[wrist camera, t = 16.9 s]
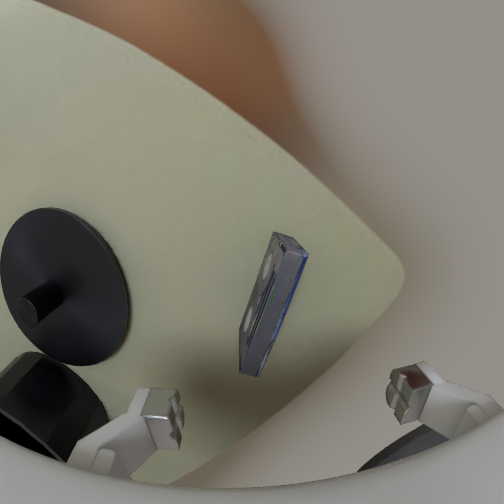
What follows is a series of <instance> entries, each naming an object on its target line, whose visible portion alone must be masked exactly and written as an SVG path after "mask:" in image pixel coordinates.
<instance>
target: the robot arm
mask: <svg viewBox="0 0 504 504" xmlns="http://www.w3.org/2000/svg"><path fill="white" fill-rule="evenodd" d="M390 379H391V382H390V384H389V385H388V386H387V389H386V400H387V403H388V405H389V407H391V408H393V409H395V413H394V415H395V416H396V418H397V420H398V421H399V423H400V425H401V424H405V423H408V422H412V421H415V420H418V421H420V422H422V423H423V424H425V425H426V426H428V427H430V428H432V429H433V430H435V431H437V432H438V433H440V434H442V435H444V436H445V437H447V438H449V439H450V440H448V441H446V442H444V443H441V444H439V445H437V446H435V447H432V448H430V449H427V450H425V451H422V452H420V453H417V454H415V455H412V456H409V457H406V458H404V459H401V460H398V461H395V462H392V463H389V464H385V465H382V466H379V467H375V468H372V469H368V470H364V471H361V472H357V473H353V474H349V475H344V476H339V477H334V478H330V479H324V480H318V481H312V482H306V483H298V484H291V485H281V486H271V487H257V488H256V487H255V488H196V487H183V486H172V485H163V484H155V483H148V482H142V481H136V480H132V478H131V477H130V475H131V474H132V473H133V472H134V471H135V470H136V469H138V468H139V467H140V466H141V465H142V464H143V463H144V462H145V461H146V460H147V459H148V458H149V457H150V456H151V455H152V454H153V453H154V452H155V451H156V450H157V449H170V450H179V449H180V443H181V438H182V437H181V433H180V431H181V430H182V429H183V427H184V410H183V406H182V405H181V404H180V403H179V402H180V394H179V391H178V390H177V389H164V388H149V387H138V388H137V390H136V392H135V394H134V397H133V399H132V401H131V404H130V406H129V408H128V411H127V413H126V414H122V415H120V416H118V417H117V418H115V419H114V420H112V421H110V422H109V423H107V424H105V425H104V426H102V427H101V428H99V429H97V430H96V431H94V432H92V433H91V434H89V435H87V436H86V437H84V438H82V439H80V440H79V441H77V443H76V445H75V447H74V449H73V451H72V453H71V455H70V457H69V459H68V461H67V463H64V462H61V461H58V460H55V459H52V458H50V457H47V456H44V455H42V454H39V453H37V452H34V451H32V450H29V449H27V448H25V447H22V446H20V445H18V444H16V443H14V442H12V441H10V440H8V439H6V438H4V437H2V436H0V504H504V409H502V407H501V406H500V405H499V404H498V403H497V402H496V401H495V400H494V399H493V398H492V397H491V396H490V395H488V394H484V393H481V392H478V391H475V390H472V389H469V388H466V387H463V386H460V385H457V384H455V383H451V382H449V381H446V382H444V381H443V380H442V379H441V378H440V376H439V375H438V374H437V373H436V372H435V371H434V370H433V369H432V368H431V367H430V366H429V365H428V364H427V363H426V362H424V361H423V362H420V363H416V364H413V365H409V366H406V367H402V368H397V369H393V370H392V372H391V374H390Z"/></svg>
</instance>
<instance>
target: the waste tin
mask: <svg viewBox="0 0 504 504" xmlns="http://www.w3.org/2000/svg"><path fill="white" fill-rule="evenodd" d="M107 423H108V418H107V414H106V411H105V409H104V407H103V405H102V403H101V402H100V400H99V399H98V397H97V396H96V394H95V393H94V392H93V391H92V389H91V388H90V387H89V386H88V385H87V384H86V383H85V382H84V381H83V380H82V379H81V378H80V377H79V376H78V375H77V374H76V373H74V372H73V371H72V370H71V369H69V368H68V367H67V366H65V365H64V364H62V363H61V362H59V361H57V360H55V359H53V358H51V357H49V356H48V355H45V354H42V353H38V352H26V353H23V354H21V355H20V356H19V357H16V358H15V359H14V360H13V361H12V362H11V363H10V364H9V365H8V366H7V367H6V368H5V369H4V370H3V371H2V372H1V373H0V436H2V437H4V438H6V439H8V440H10V441H12V442H14V443H16V444H18V445H20V446H22V447H25V448H27V449H29V450H32V451H34V452H37V453H39V454H42V455H44V456H47V457H50V458H52V459H55V460H58V461H61V462H64V463H67V461H68V459H69V457H70V455H71V453H72V451H73V449H74V447H75V445H76V443H77V441H79V440H80V439H82V438H84V437H86V436H87V435H89V434H91V433H92V432H94V431H96V430H97V429H99V428H101V427H102V426H104V425H105V424H107Z"/></svg>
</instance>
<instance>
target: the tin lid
mask: <svg viewBox="0 0 504 504" xmlns="http://www.w3.org/2000/svg"><path fill="white" fill-rule="evenodd" d="M0 276H1V284H2V289H3V293H4V297H5V300H6V303H7V305H8V308H9V310H10V312H11V314H12V316H13V318H14V320H15V322H16V323H17V325H18V327H19V328H20V329H21V331H22V332H23V333H24V335H25V336H26V337H27V338H28V339H29V340H30V341H31V342H32V343H33V344H34V345H35V346H36V347H37V348H38V349H39V350H41V351H42V352H43V353H45V354H46V355H48V356H49V357H51V358H53V359H55V360H57V361H59V362H62V363H65V364H69V365H73V366H89V365H93V364H97V363H99V362H101V361H103V360H105V359H106V358H108V357H109V356H110V355H111V354H112V353H113V352H114V351H115V349H116V348H117V346H118V345H119V343H120V342H121V339H122V337H123V335H124V332H125V328H126V325H127V317H128V303H127V294H126V289H125V285H124V281H123V278H122V275H121V272H120V269H119V267H118V265H117V262H116V260H115V258H114V256H113V255H112V253H111V251H110V249H109V248H108V246H107V245H106V243H105V242H104V241H103V239H102V238H101V237H100V236H99V235H98V233H97V232H96V231H95V230H94V229H93V228H92V227H91V226H90V225H89V224H87V223H86V222H85V221H84V220H82V219H81V218H79V217H78V216H76V215H74V214H72V213H70V212H68V211H65V210H62V209H59V208H40V209H36V210H32V211H30V212H28V213H26V214H24V215H23V216H22V217H20V218H19V219H18V220H17V221H16V222H15V223H14V224H13V226H12V227H11V229H10V230H9V232H8V234H7V236H6V238H5V241H4V244H3V247H2V252H1V259H0Z"/></svg>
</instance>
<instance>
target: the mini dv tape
mask: <svg viewBox="0 0 504 504" xmlns="http://www.w3.org/2000/svg"><path fill="white" fill-rule="evenodd" d="M308 255H309V254H308V253H307V252H306V251H305V250H304V249H303V247H302V246H301V245H300V244H299V243H298V242H297V241H296V240H295V239H294V238H292V237H289V236H286V235H283V234H280V233H277V232H273V234H272V237H271V240H270V243H269V246H268V249H267V251H266V254H265V257H264V260H263V263H262V266H261V269H260V271H259V274H258V277H257V280H256V283H255V286H254V289H253V291H252V294H251V297H250V300H249V303H248V305H247V308H246V311H245V314H244V317H243V320H242V322H241V325H240V328H239V373H241V374H246V375H250V376H254V377H259V376H260V373H261V371H262V369H263V367H264V364H265V362H266V360H267V357H268V355H269V353H270V351H271V348H272V346H273V343H274V341H275V339H276V336H277V334H278V332H279V329H280V327H281V324H282V322H283V319H284V317H285V315H286V312H287V310H288V307H289V305H290V302H291V300H292V297H293V295H294V292H295V289H296V287H297V284H298V282H299V279H300V277H301V274H302V271H303V269H304V266H305V263H306V261H307V258H308Z"/></svg>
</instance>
